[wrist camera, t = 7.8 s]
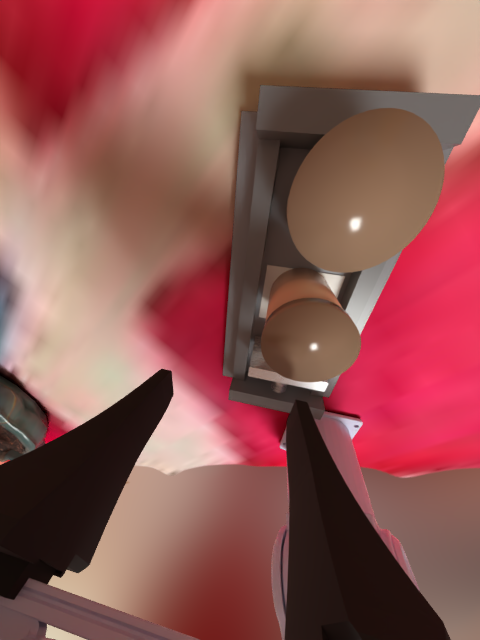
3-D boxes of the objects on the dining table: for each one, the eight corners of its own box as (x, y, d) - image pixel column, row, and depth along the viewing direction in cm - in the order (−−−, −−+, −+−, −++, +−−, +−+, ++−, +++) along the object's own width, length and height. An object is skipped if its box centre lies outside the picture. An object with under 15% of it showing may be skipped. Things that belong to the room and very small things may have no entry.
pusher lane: (327, 391, 22) (335, 423, 19) (224, 370, 24) (215, 396, 20) (453, 129, 11) (524, 97, 8) (243, 116, 12) (230, 83, 9)
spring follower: (307, 376, 20) (313, 414, 17) (250, 365, 21) (243, 399, 17) (318, 347, 18) (328, 382, 15) (255, 335, 19) (249, 366, 15)
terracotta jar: (318, 327, 18) (337, 390, 11) (263, 316, 18) (253, 371, 12) (340, 272, 15) (380, 317, 9) (275, 261, 15) (271, 296, 9)
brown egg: (347, 249, 14) (396, 280, 8) (278, 240, 15) (276, 263, 9) (379, 162, 12) (485, 112, 6) (294, 154, 12) (306, 102, 6)
